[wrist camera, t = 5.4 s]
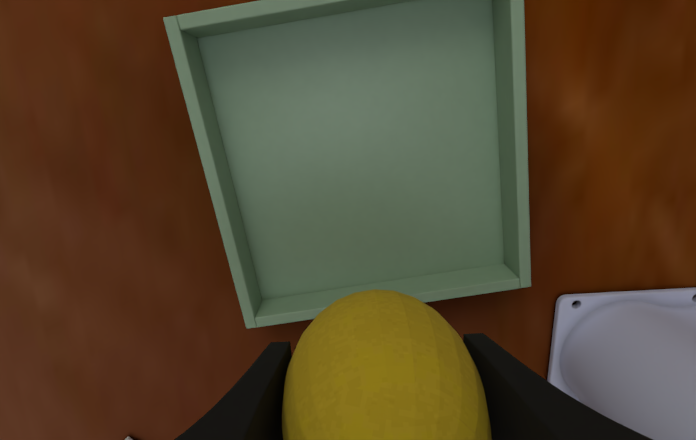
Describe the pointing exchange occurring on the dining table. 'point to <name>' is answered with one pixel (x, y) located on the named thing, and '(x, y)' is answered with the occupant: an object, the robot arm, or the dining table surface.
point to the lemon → (382, 375)
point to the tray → (361, 147)
